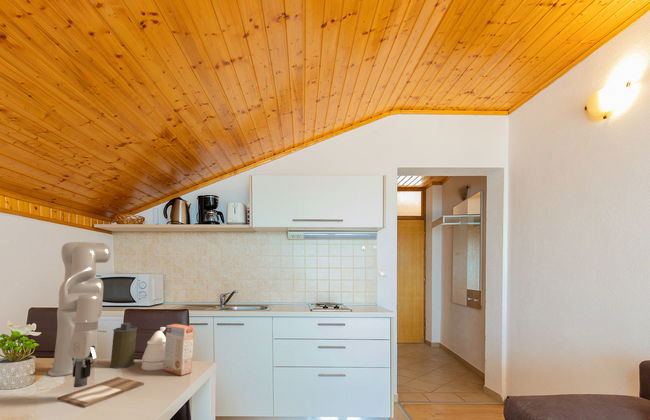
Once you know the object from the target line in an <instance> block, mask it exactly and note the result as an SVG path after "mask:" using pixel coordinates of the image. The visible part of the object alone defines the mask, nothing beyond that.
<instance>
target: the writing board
mask: <svg viewBox="0 0 650 420" xmlns="http://www.w3.org/2000/svg"><path fill="white" fill-rule="evenodd" d="M144 384H145V383H144V382H143V381H139V380H138V381H137V380H134V379H129V378H124V377H120V376H117V377H115V378H111V379H107V380H105V381H103V382H99V383H96V384H94V385H90V386H87V387H85V388H81V389H79V390H76V391H73V392H70V393H66V394H63V395H61V396H57V399H56V400H58V401H60V402H64V403H67V404H71V405H75V406H78V407H80V408H81V407H82V408H85V409H86V408H87V407H90V406H92V405H95V404H97V403H101V402H102V401H106V400H109V399H110V398H114V397H115V396H119V395H122V394H123V393H126V392H129V391H131V390H133V389H136V388H138V387H141V386H144Z"/></svg>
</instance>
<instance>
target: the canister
mask: <svg viewBox="0 0 650 420" xmlns="http://www.w3.org/2000/svg"><path fill="white" fill-rule="evenodd" d="M131 323H132V322H123V323H121V324H120V327H116V328H114V329H113V330H112V331H113V336H112V346H111V357H110V365H109V368H111V369H123V368H128V367H131V366H133V365H134V364H135V353H136V341H137V339H136V338H137V332H138V331H137V330H138V327H137V326H134V325H131Z"/></svg>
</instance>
